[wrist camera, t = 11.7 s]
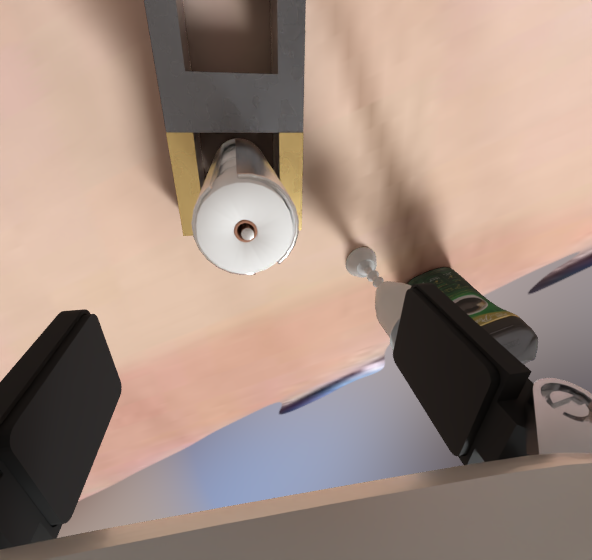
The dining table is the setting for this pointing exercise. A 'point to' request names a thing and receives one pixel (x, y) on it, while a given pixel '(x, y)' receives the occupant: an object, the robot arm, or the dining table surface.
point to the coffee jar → (484, 313)
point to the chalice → (380, 290)
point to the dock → (229, 99)
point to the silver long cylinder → (244, 212)
